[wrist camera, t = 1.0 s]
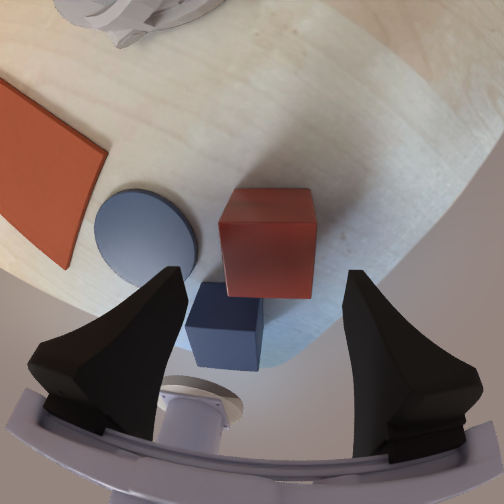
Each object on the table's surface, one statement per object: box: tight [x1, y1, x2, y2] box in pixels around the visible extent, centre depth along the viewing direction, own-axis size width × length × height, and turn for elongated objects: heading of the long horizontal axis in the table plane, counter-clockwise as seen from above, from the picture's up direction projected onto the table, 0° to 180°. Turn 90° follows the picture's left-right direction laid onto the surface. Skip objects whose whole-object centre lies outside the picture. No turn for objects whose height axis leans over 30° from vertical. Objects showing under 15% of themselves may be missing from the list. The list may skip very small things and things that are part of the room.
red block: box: [218, 188, 317, 299], centre depth 15 cm, size 4×4×4 cm
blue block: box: [185, 283, 264, 372], centre depth 20 cm, size 4×4×4 cm
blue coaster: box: [94, 189, 197, 288], centre depth 19 cm, size 8×8×1 cm
